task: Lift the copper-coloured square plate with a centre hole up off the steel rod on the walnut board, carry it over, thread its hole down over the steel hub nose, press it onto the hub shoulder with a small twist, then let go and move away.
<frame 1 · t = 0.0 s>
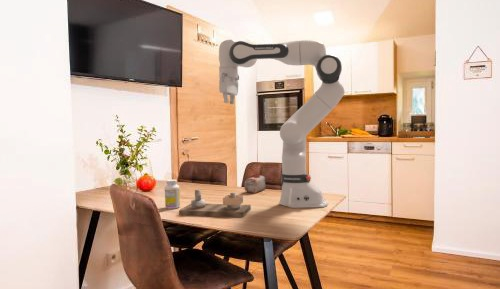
hand: (229, 103, 173), 48 cm above the table, tool pointing down, fingers open, 8 cm apart
supplement bottle: (172, 207, 167), on the table
plate: (233, 203, 154), point 4 cm above the table, touching board
food item: (255, 191, 203), on the table
board: (215, 212, 156), on the table
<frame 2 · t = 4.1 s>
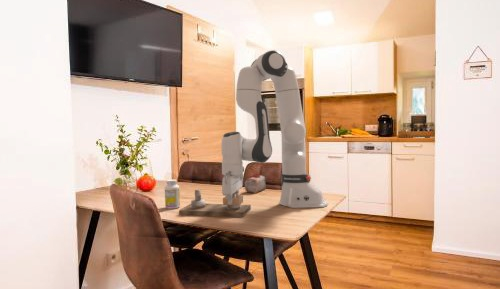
hand: (233, 202, 154), 5 cm above the table, tool pointing down, fingers closed on plate, 7 cm apart
plate: (233, 203, 154), point 4 cm above the table, touching board, gripper
everything else where it was.
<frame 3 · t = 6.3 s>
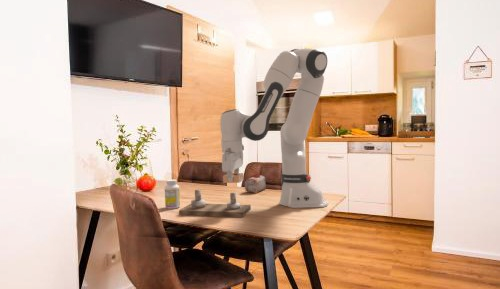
hand: (233, 179, 154), 14 cm above the table, tool pointing down, fingers closed on plate, 7 cm apart
plate: (233, 181, 154), point 14 cm above the table, touching gripper
everything else where it was.
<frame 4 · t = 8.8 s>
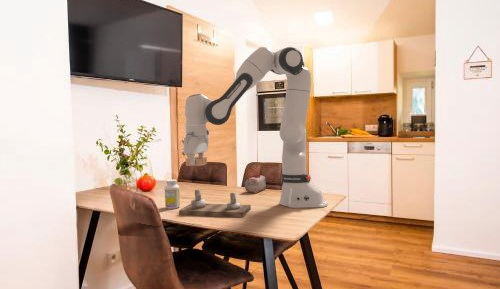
hand: (196, 163, 157), 21 cm above the table, tool pointing down, fingers closed on plate, 7 cm apart
plate: (196, 164, 157), point 21 cm above the table, touching gripper
everything else where it was.
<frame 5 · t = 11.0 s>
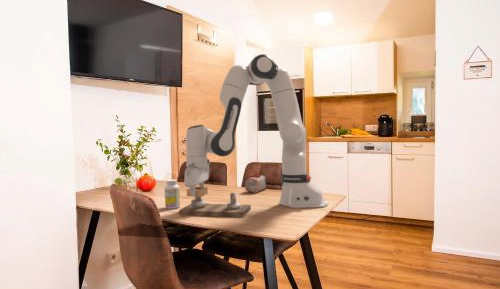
hand: (197, 193, 157), 8 cm above the table, tool pointing down, fingers closed on plate, 7 cm apart
plate: (197, 194, 157), point 7 cm above the table, touching gripper
everything else where it was.
when the fingers open (6 cm above the table, at t = 13.3 s): plate stays where it is, resting on board.
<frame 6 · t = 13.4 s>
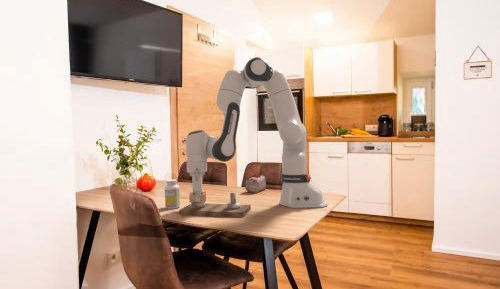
hand: (197, 199, 157), 6 cm above the table, tool pointing down, fingers open, 8 cm apart
plate: (197, 200, 157), point 5 cm above the table, touching board
everything else where it was.
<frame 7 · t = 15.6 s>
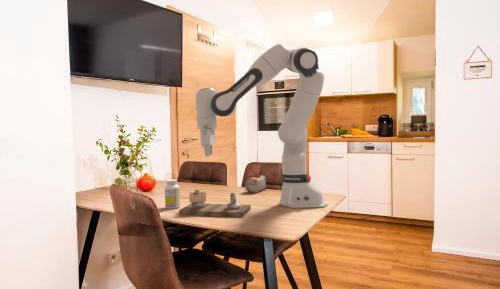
hand: (208, 155, 161), 24 cm above the table, tool pointing down, fingers open, 8 cm apart
nothing on the table moved.
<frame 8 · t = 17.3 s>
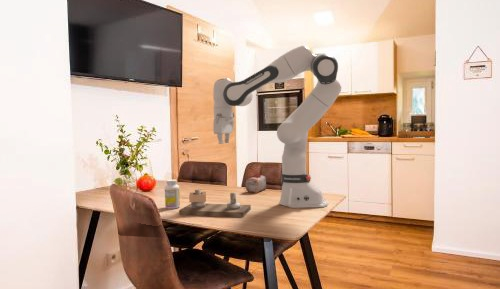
hand: (223, 143, 169), 29 cm above the table, tool pointing down, fingers open, 8 cm apart
nothing on the table moved.
at the end: plate 0.2 cm from the target spot on the board, point 5.0 cm above the board's base; plate tilted 0°; the gripper is holding nothing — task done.
